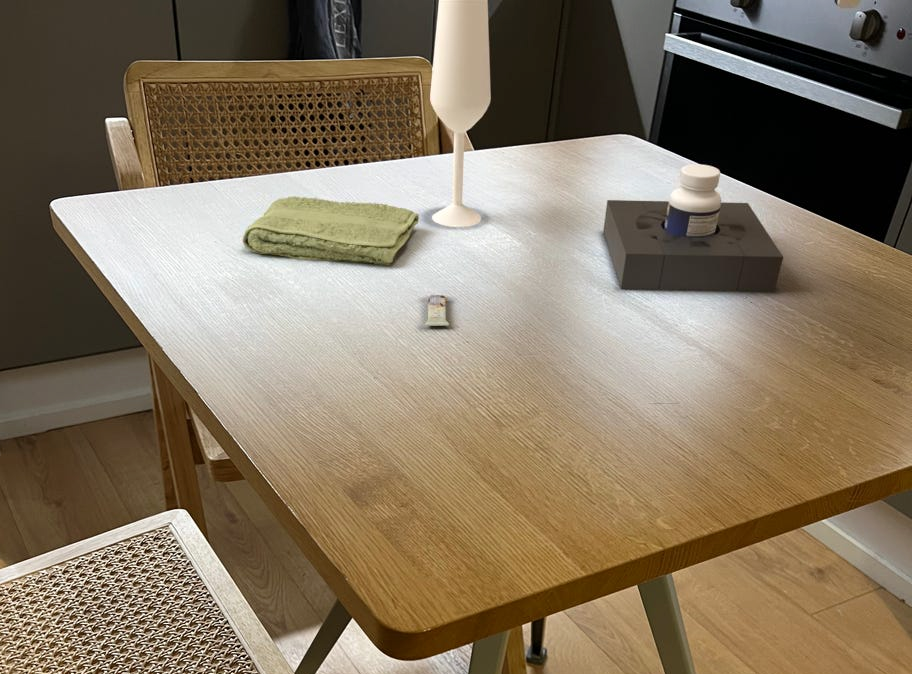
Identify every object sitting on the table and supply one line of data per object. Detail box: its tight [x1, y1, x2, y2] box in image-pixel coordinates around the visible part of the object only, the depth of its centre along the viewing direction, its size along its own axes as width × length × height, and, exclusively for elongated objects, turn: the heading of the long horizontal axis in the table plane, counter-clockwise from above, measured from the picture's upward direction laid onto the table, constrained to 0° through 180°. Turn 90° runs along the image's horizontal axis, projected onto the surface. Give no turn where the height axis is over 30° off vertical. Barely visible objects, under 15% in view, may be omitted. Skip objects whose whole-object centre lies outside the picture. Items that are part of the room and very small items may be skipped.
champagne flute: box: [429, 0, 492, 228], centre depth 107 cm, size 7×7×24 cm
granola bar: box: [424, 294, 450, 327], centre depth 95 cm, size 7×2×1 cm, turn 0°
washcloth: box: [242, 195, 420, 266], centre depth 108 cm, size 13×18×3 cm
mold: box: [602, 199, 784, 294], centre depth 105 cm, size 16×16×4 cm
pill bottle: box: [664, 163, 722, 238], centre depth 103 cm, size 5×5×10 cm
